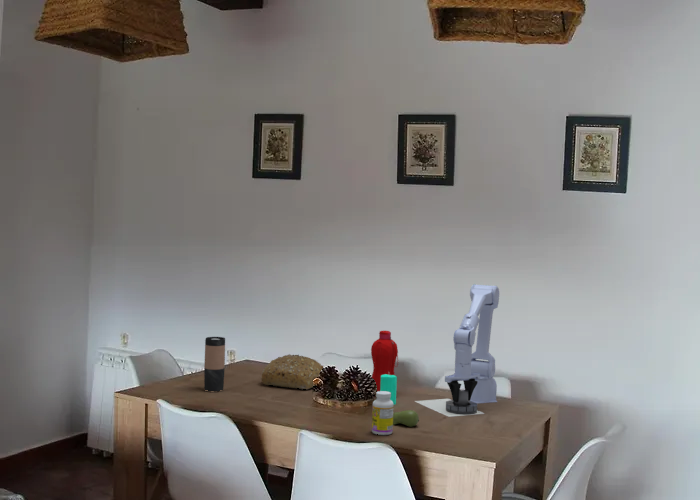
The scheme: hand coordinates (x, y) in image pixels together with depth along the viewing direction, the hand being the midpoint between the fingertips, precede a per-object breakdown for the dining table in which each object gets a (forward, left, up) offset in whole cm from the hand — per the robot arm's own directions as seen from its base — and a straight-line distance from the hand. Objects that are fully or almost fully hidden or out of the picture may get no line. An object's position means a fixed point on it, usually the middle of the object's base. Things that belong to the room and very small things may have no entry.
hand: (461, 400), depth 282 cm
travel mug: (+74, -58, -4) cm, 94 cm away
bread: (+40, -60, -4) cm, 72 cm away
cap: (0, 0, -1) cm, 1 cm away
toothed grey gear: (0, 0, -3) cm, 3 cm away
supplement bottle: (+40, +16, -4) cm, 43 cm away
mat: (+1, -6, -4) cm, 7 cm away
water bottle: (+15, -30, -4) cm, 34 cm away
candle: (+20, -18, -4) cm, 27 cm away
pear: (+29, +9, -4) cm, 30 cm away
